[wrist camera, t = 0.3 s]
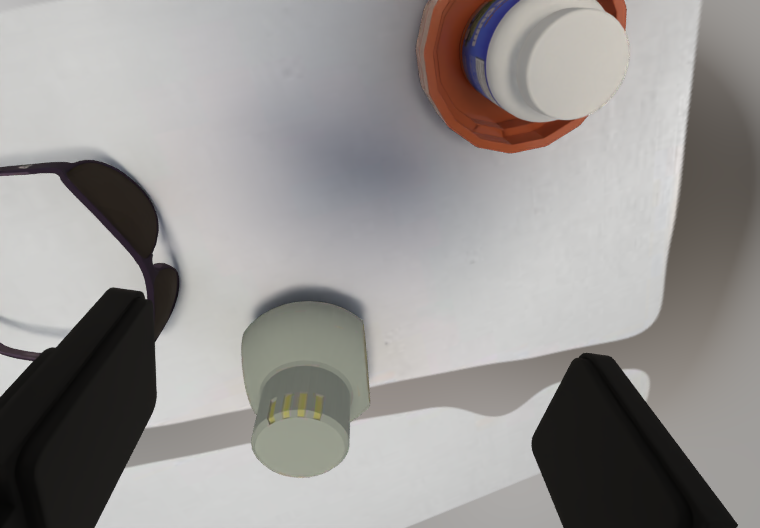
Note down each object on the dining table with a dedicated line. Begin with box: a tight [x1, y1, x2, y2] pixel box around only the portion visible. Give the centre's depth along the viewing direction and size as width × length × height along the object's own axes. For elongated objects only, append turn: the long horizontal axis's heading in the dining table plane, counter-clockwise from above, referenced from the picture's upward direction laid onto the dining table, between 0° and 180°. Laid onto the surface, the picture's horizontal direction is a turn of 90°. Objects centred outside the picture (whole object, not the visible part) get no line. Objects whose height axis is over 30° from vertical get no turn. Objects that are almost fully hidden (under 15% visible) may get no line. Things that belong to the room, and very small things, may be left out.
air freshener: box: [241, 301, 370, 478], centre depth 31 cm, size 11×8×10 cm
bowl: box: [416, 0, 627, 153], centre depth 24 cm, size 10×10×4 cm
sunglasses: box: [0, 160, 179, 361], centre depth 29 cm, size 14×16×5 cm
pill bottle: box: [460, 0, 630, 122], centre depth 21 cm, size 5×5×10 cm
